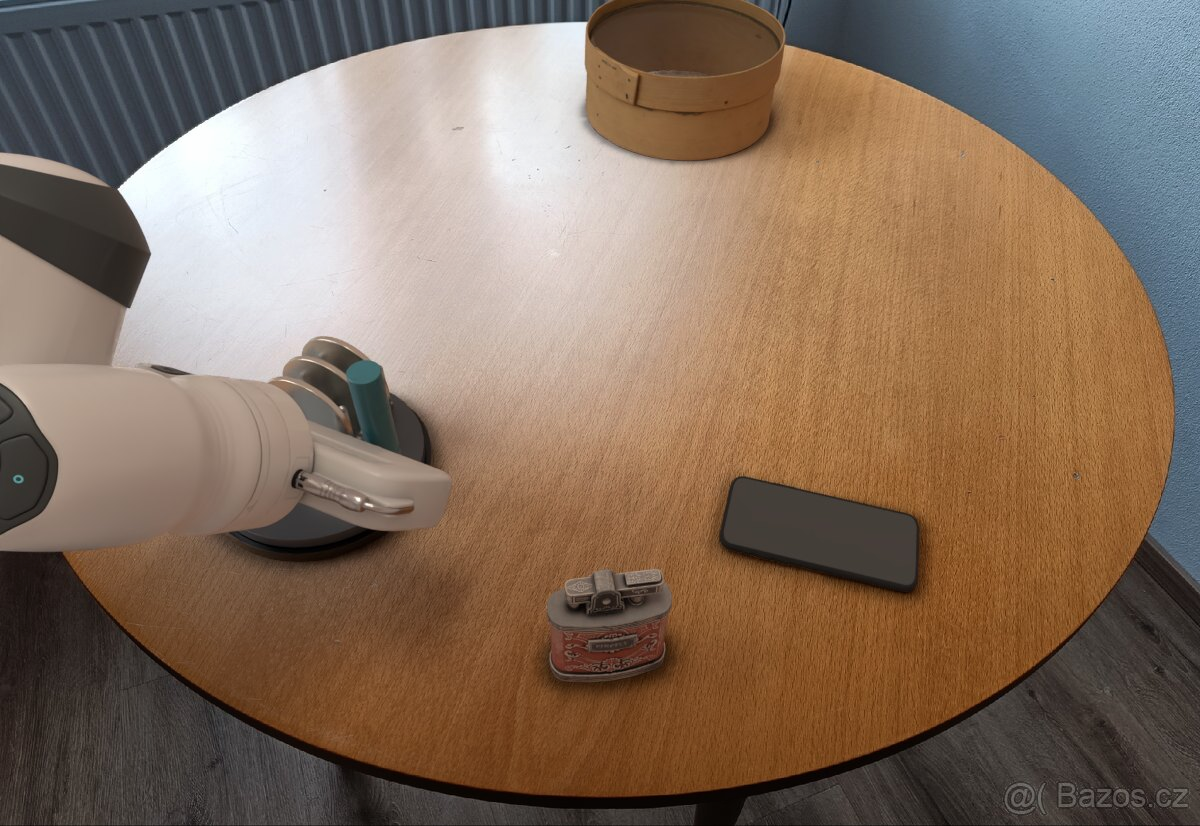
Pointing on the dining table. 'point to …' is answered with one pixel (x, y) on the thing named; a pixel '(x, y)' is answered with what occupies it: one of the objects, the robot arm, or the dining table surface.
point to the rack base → (328, 549)
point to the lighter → (608, 625)
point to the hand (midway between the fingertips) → (364, 452)
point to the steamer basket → (682, 104)
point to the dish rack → (340, 427)
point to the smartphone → (821, 533)
